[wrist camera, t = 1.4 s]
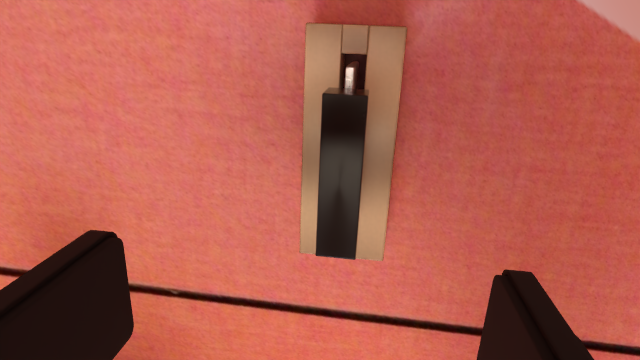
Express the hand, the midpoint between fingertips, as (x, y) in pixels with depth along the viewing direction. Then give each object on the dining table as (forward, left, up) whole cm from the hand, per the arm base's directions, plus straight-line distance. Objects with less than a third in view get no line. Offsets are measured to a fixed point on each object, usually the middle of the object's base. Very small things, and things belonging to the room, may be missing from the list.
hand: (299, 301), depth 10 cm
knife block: (0, 0, -18) cm, 18 cm away
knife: (0, 0, -18) cm, 18 cm away
